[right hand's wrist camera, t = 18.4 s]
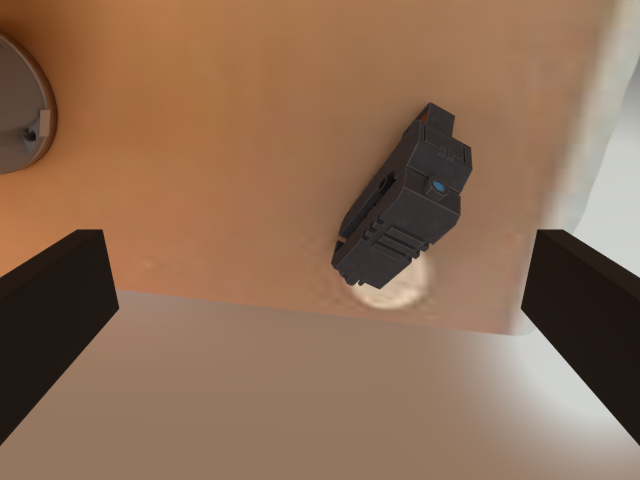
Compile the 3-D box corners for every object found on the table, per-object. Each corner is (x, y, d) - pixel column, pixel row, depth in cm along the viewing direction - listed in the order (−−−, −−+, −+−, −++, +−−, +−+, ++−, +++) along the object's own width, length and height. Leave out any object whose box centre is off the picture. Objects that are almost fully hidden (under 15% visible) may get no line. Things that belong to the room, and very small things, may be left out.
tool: (474, 110, 41) (478, 214, 31) (379, 220, 55) (361, 314, 45) (422, 81, 40) (410, 179, 30) (339, 200, 54) (312, 293, 44)
